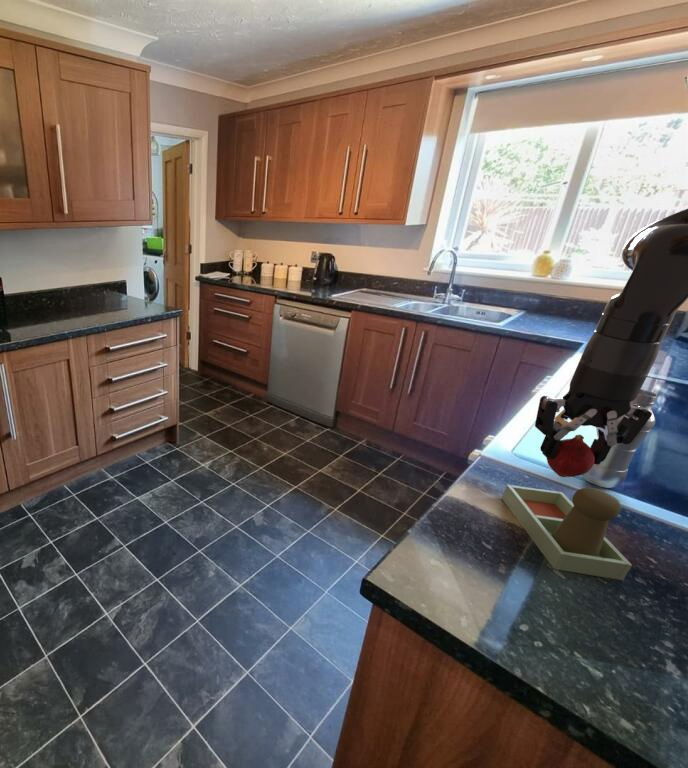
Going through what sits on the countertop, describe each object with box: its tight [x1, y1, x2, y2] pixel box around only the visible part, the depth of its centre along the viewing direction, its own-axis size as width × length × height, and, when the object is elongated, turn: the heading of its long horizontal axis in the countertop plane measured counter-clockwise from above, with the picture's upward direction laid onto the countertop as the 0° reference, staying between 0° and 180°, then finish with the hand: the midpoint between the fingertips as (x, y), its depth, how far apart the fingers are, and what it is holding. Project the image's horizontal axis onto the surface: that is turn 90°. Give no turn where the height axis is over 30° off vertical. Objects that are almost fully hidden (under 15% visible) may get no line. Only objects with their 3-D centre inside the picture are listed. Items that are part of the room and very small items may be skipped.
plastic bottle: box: [580, 388, 658, 489], centre depth 81 cm, size 6×7×20 cm
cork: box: [551, 487, 622, 557], centre depth 65 cm, size 6×6×11 cm
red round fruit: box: [546, 434, 595, 478], centre depth 70 cm, size 6×6×8 cm
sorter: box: [501, 484, 633, 581], centre depth 71 cm, size 9×17×3 cm, turn 167°
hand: (569, 458), depth 70 cm, fingers closed on red round fruit, 6 cm apart
